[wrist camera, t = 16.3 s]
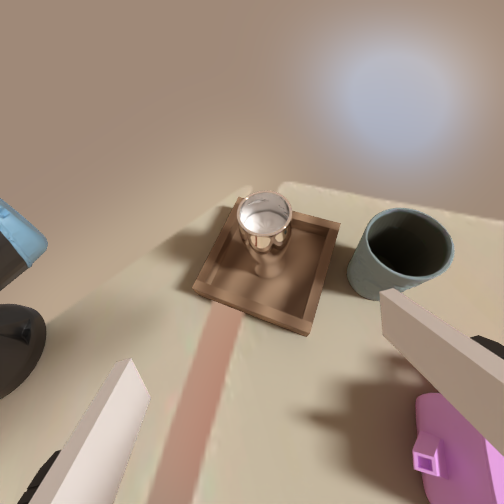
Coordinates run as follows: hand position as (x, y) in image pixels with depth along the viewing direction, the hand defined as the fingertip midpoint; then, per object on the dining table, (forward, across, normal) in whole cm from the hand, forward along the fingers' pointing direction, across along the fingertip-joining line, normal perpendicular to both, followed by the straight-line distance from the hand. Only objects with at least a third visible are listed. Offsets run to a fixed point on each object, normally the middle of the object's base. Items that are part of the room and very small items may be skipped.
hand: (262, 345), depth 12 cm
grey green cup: (+24, +20, -12) cm, 34 cm away
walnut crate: (+29, +4, -7) cm, 30 cm away
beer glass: (+28, +4, -7) cm, 29 cm away
